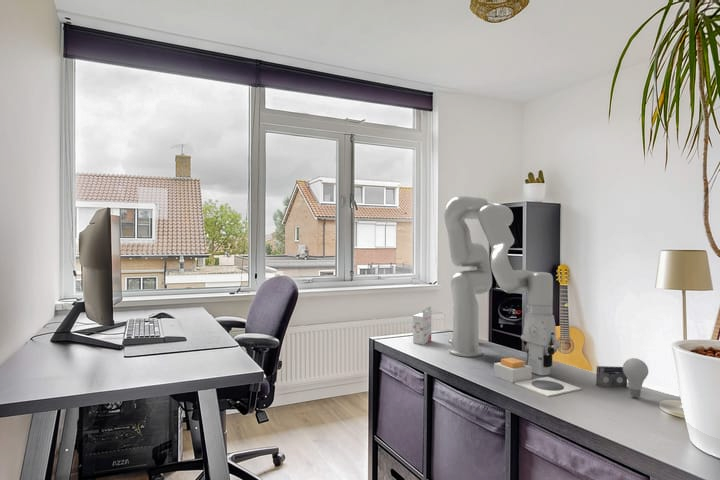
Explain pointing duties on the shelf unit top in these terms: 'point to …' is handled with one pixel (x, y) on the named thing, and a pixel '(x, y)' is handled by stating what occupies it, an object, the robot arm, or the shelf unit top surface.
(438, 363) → the shelf unit top surface
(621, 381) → the mini dv tape
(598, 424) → the shelf unit top surface
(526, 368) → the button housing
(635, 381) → the lightbulb
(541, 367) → the skincare box
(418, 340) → the ink cartridge box
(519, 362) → the button
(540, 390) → the white plate with oval
